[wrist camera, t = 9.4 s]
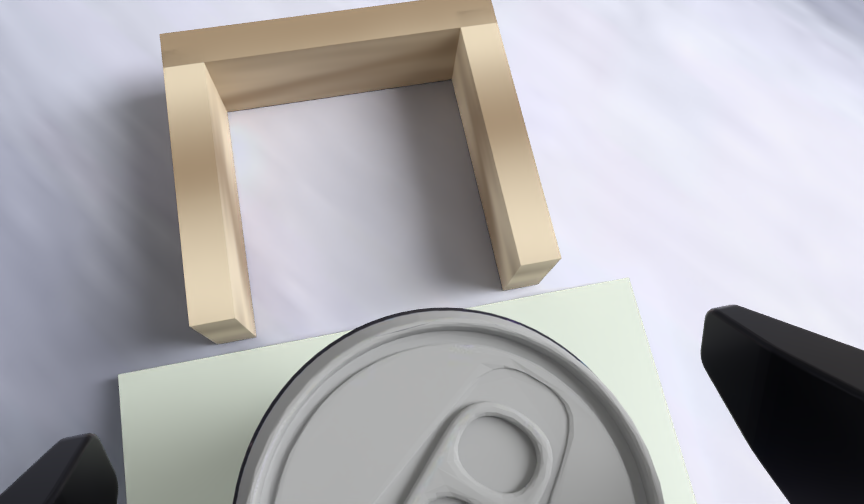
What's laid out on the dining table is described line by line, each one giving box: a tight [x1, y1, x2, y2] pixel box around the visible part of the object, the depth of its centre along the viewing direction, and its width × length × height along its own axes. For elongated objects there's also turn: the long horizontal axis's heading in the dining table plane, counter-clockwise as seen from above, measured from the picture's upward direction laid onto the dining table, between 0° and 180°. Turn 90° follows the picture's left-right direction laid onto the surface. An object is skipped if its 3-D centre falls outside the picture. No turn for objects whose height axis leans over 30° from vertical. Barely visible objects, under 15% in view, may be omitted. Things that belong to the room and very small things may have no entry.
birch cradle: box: [160, 0, 561, 344], centre depth 21 cm, size 9×10×3 cm
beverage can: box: [233, 308, 664, 504], centre depth 13 cm, size 6×6×12 cm
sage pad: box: [118, 278, 697, 504], centre depth 19 cm, size 9×16×1 cm, turn 102°
